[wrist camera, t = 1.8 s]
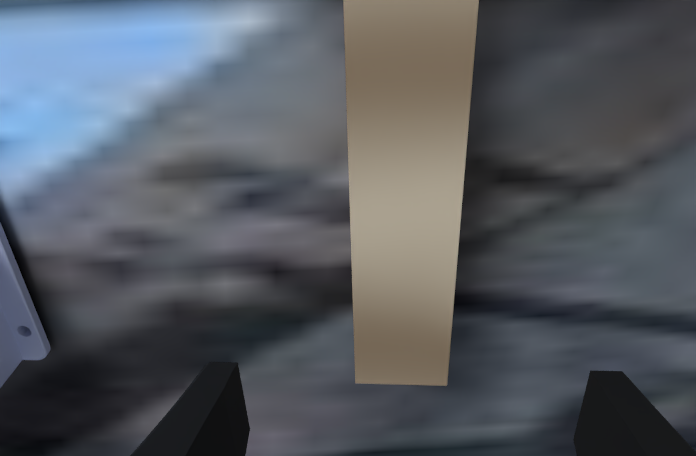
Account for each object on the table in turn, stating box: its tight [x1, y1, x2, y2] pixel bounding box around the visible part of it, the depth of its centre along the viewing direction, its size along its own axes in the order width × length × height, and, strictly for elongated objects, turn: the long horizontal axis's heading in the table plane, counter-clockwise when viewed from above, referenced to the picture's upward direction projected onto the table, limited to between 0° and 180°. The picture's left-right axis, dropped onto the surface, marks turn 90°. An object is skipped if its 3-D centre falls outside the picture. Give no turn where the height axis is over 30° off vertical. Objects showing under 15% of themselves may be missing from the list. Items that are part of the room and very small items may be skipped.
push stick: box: [343, 0, 479, 386], centre depth 14 cm, size 16×2×5 cm, turn 2°
